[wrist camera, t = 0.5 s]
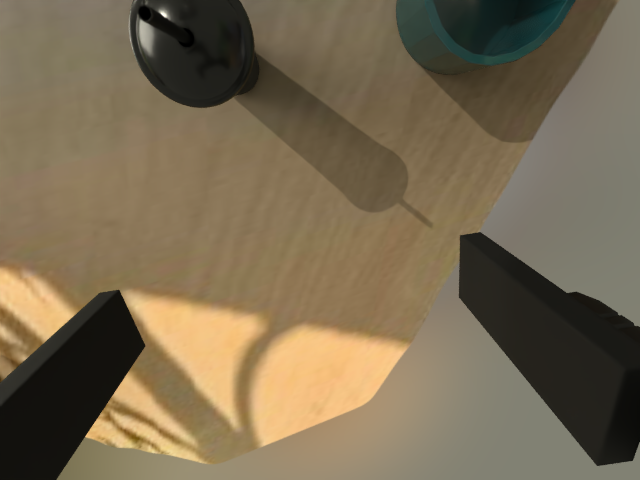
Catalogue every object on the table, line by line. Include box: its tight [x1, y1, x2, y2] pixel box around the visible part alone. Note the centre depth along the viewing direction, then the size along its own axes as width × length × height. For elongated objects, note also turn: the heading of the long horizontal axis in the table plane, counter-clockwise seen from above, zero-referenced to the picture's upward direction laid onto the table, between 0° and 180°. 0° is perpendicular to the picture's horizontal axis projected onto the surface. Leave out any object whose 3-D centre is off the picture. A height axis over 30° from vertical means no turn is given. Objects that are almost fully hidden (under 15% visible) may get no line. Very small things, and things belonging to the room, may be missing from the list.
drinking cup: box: [129, 0, 259, 108], centre depth 23 cm, size 8×8×20 cm
